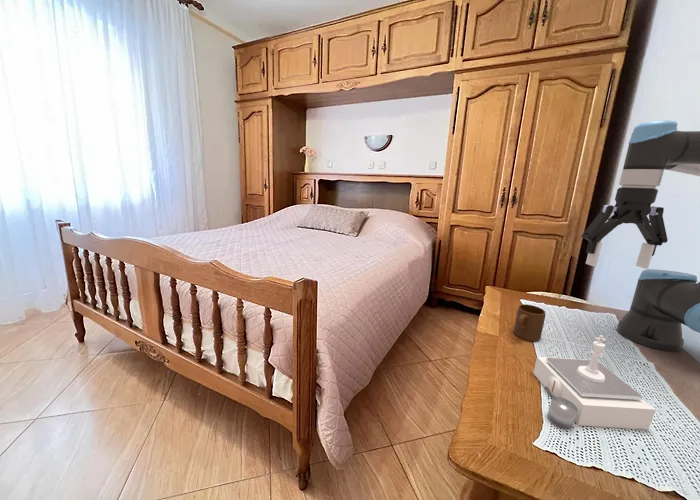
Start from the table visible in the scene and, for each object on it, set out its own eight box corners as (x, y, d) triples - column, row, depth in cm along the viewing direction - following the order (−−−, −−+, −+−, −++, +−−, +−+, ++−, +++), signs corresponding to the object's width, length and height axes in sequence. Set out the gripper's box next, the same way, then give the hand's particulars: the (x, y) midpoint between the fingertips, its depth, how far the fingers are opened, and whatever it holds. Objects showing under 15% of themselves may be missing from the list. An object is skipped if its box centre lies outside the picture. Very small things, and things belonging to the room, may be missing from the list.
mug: (527, 349, 85) (533, 320, 83) (502, 337, 91) (507, 310, 89) (544, 337, 92) (550, 310, 90) (519, 327, 98) (524, 302, 96)
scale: (588, 376, 74) (593, 358, 72) (648, 429, 58) (656, 407, 57) (531, 373, 74) (535, 355, 73) (575, 425, 59) (581, 403, 57)
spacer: (559, 410, 62) (563, 395, 61) (578, 428, 58) (583, 412, 57) (542, 413, 62) (546, 397, 60) (560, 430, 57) (565, 414, 56)
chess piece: (610, 384, 62) (622, 343, 60) (584, 380, 63) (595, 340, 60) (596, 370, 67) (606, 331, 64) (572, 366, 68) (582, 328, 65)
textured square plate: (595, 363, 71) (596, 360, 70) (641, 399, 59) (642, 396, 59) (546, 360, 71) (546, 357, 71) (581, 396, 59) (582, 393, 59)
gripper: (673, 188, 76) (649, 264, 82) (577, 185, 77) (560, 260, 83) (705, 189, 69) (677, 272, 74) (599, 185, 70) (579, 268, 75)
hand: (616, 266), depth 78 cm, fingers open, 13 cm apart
